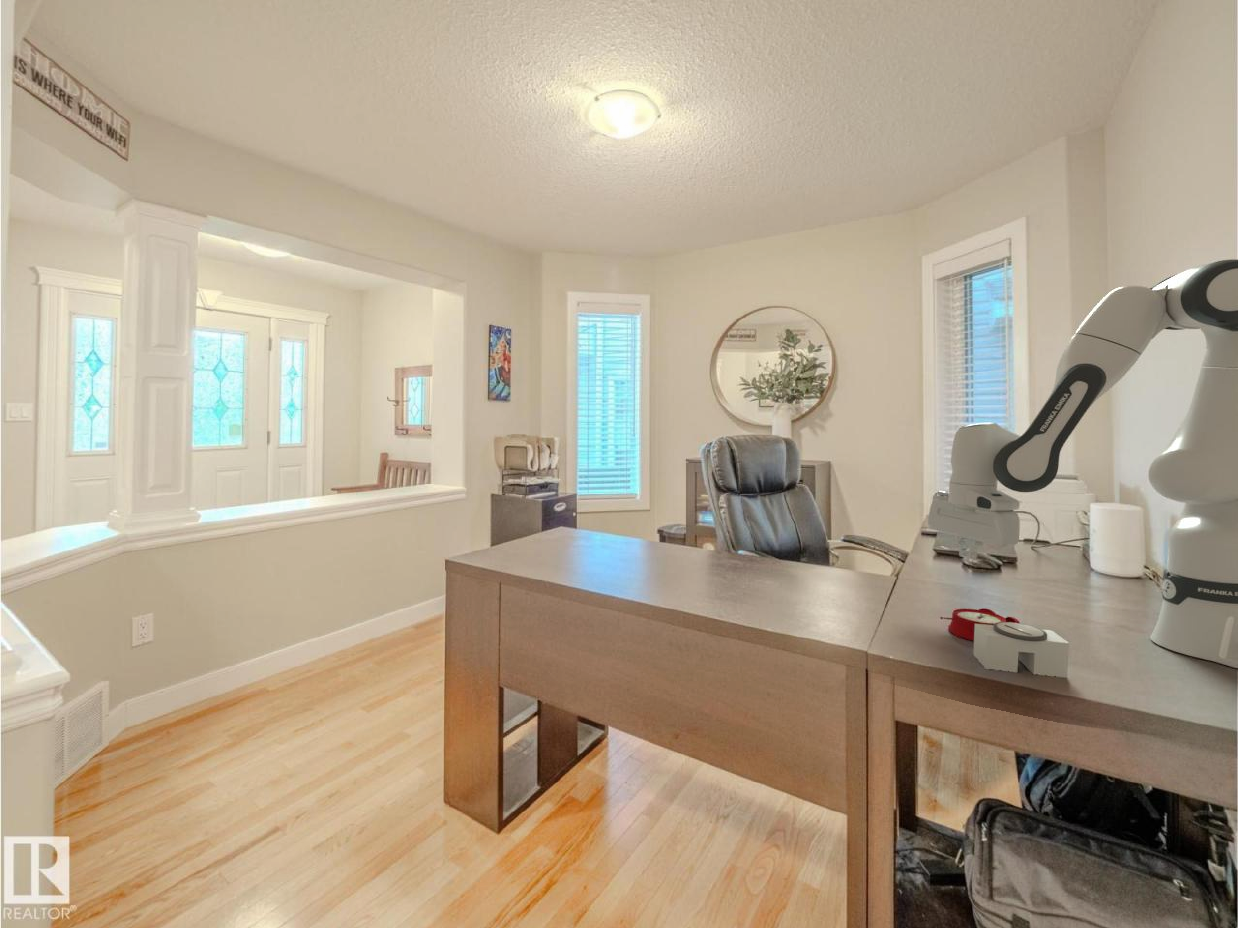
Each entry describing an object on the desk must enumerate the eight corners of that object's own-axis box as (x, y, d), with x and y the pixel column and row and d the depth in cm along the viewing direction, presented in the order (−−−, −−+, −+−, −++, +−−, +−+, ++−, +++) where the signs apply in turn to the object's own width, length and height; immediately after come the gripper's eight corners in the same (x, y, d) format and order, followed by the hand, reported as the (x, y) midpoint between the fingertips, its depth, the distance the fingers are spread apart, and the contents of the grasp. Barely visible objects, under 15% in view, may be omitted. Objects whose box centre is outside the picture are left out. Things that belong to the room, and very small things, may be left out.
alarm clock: (932, 612, 114) (986, 590, 118) (936, 640, 115) (990, 617, 119) (978, 629, 104) (1035, 605, 108) (982, 660, 105) (1039, 635, 109)
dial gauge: (1047, 661, 98) (1049, 624, 98) (1069, 679, 91) (1071, 640, 90) (971, 653, 101) (973, 617, 101) (987, 670, 94) (988, 632, 94)
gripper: (923, 490, 129) (919, 547, 130) (1002, 504, 109) (997, 571, 110) (944, 489, 130) (941, 546, 132) (1027, 503, 111) (1022, 569, 112)
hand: (967, 557), depth 121 cm, fingers closed
